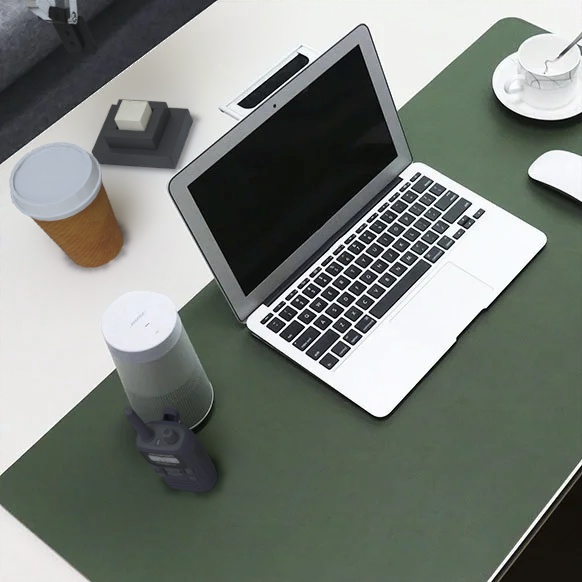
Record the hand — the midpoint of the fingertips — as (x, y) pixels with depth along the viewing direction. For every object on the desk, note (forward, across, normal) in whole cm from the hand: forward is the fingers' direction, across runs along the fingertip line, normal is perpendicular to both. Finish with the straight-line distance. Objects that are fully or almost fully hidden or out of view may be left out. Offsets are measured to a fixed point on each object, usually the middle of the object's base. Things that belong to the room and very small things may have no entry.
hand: (99, 18), depth 85 cm
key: (+15, -1, -2) cm, 16 cm away
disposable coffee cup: (+19, +15, -3) cm, 24 cm away
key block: (+19, -1, -2) cm, 19 cm away
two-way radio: (+19, +40, +17) cm, 48 cm away
